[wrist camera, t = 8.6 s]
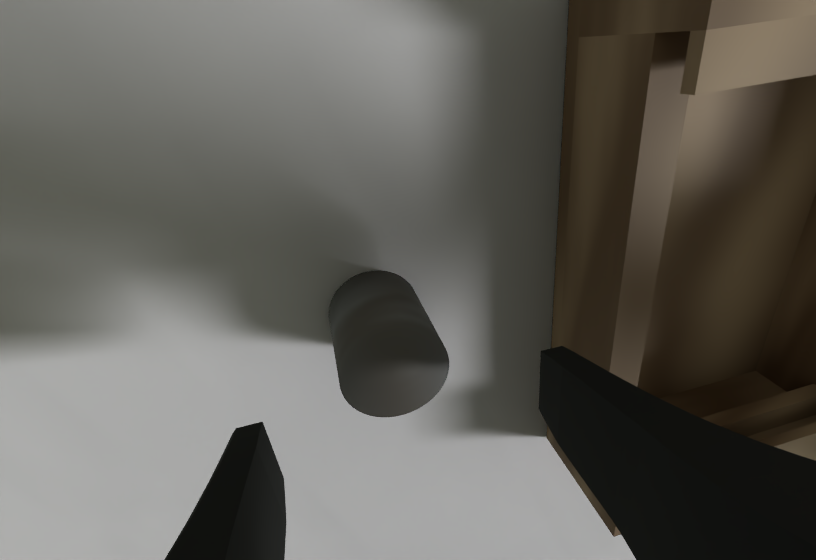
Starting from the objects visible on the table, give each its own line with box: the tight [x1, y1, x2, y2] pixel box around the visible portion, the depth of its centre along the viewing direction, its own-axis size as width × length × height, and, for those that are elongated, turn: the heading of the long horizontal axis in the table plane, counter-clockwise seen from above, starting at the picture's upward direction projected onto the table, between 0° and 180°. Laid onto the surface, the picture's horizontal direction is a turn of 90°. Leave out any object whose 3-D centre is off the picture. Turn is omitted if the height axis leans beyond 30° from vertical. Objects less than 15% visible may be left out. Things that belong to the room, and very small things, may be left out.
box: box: [547, 0, 816, 536], centre depth 16 cm, size 12×18×5 cm, turn 6°
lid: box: [329, 271, 449, 417], centre depth 14 cm, size 11×15×4 cm
